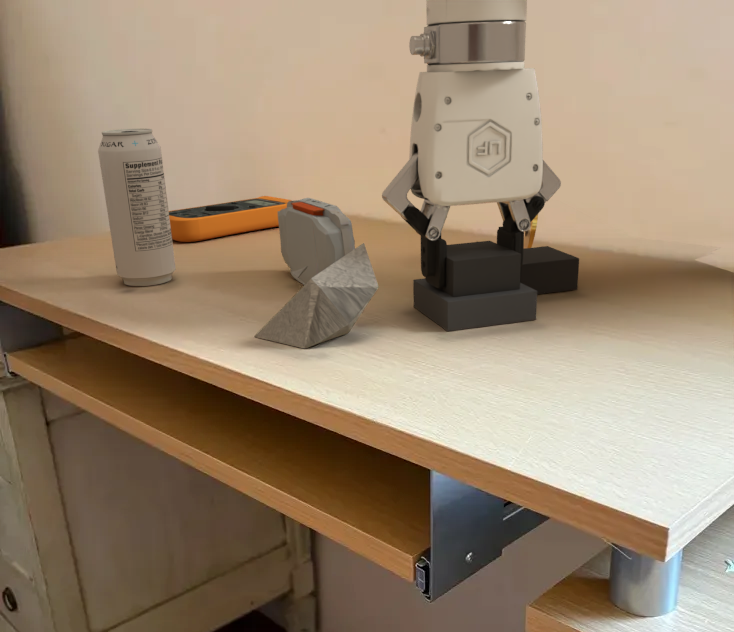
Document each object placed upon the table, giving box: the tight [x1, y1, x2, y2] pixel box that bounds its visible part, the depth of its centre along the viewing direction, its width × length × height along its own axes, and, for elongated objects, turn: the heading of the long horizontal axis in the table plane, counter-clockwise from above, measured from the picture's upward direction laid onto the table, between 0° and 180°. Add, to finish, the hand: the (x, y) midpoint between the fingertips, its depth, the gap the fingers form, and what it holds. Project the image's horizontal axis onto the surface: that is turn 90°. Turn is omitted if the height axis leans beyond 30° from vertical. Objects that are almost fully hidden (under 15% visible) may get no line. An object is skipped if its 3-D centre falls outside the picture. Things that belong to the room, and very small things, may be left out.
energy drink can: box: [97, 128, 177, 287], centre depth 84 cm, size 6×6×15 cm
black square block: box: [439, 240, 521, 297], centre depth 70 cm, size 6×6×3 cm
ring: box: [524, 213, 539, 249], centre depth 89 cm, size 7×3×8 cm, turn 5°
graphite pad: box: [520, 245, 580, 295], centre depth 79 cm, size 6×6×3 cm
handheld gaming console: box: [278, 197, 356, 284], centre depth 82 cm, size 14×3×8 cm, turn 27°
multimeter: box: [169, 195, 293, 243], centre depth 111 cm, size 9×18×3 cm, turn 130°
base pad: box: [412, 277, 538, 332], centre depth 71 cm, size 8×8×2 cm
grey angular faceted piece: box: [253, 242, 380, 349], centre depth 67 cm, size 12×6×9 cm
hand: (472, 278), depth 71 cm, fingers closed on black square block, 6 cm apart
